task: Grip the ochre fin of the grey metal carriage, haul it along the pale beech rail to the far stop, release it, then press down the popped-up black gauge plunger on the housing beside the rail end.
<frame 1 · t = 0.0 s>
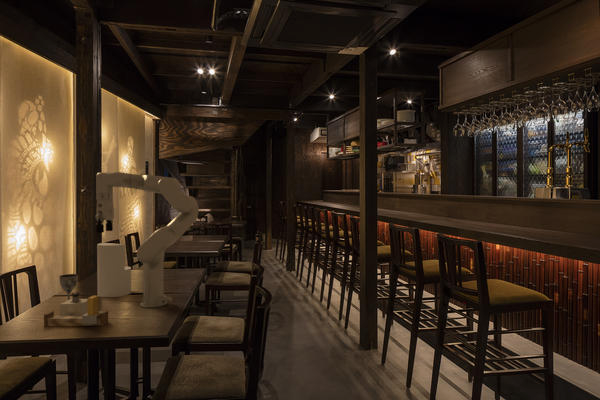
hand: (104, 231, 205), 37 cm above the table, tool pointing down, fingers open, 9 cm apart
rail: (76, 324, 174), on the table
housing: (76, 316, 185), on the table
wine glass: (68, 305, 205), on the table
cylinder: (114, 293, 230), on the table
carriage: (93, 309, 174), point 6 cm above the table, slide at -7.0 cm
plunger: (75, 300, 185), point 7 cm above the table, slide at 0.0 cm
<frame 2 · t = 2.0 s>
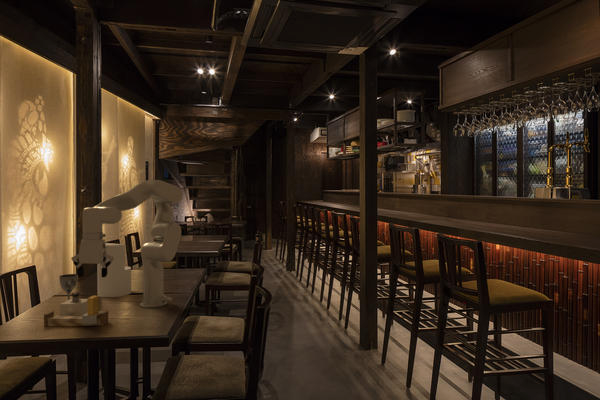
hand: (92, 276, 174), 20 cm above the table, tool pointing down, fingers open, 9 cm apart
nothing on the table moved.
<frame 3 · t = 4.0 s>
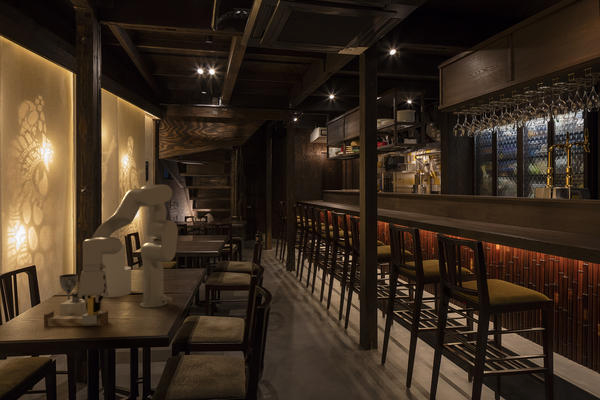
hand: (93, 310, 174), 6 cm above the table, tool pointing down, fingers closed on carriage, 2 cm apart
carriage: (93, 309, 174), point 6 cm above the table, slide at -7.0 cm, touching gripper
everything else where it was.
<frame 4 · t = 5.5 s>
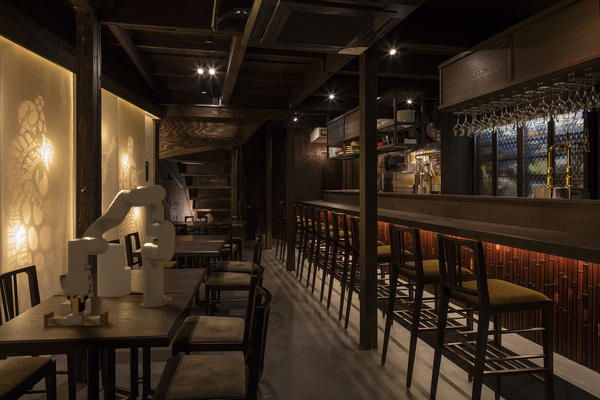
hand: (78, 311, 174), 6 cm above the table, tool pointing down, fingers closed on carriage, 2 cm apart
carriage: (78, 309, 174), point 6 cm above the table, slide at -0.8 cm, touching gripper
everything else where it was.
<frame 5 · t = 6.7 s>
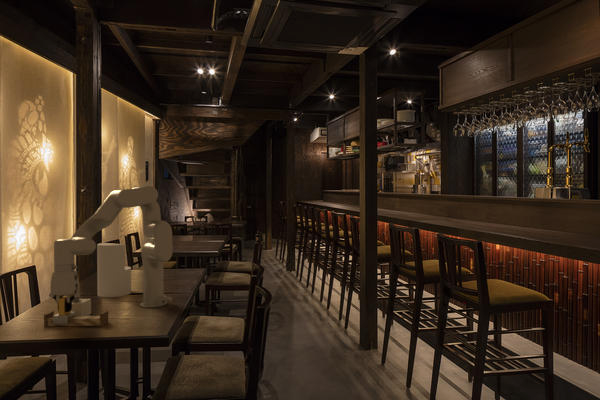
hand: (64, 311, 174), 6 cm above the table, tool pointing down, fingers closed on carriage, 2 cm apart
carriage: (64, 309, 174), point 6 cm above the table, slide at 5.0 cm, touching gripper
everything else where it was.
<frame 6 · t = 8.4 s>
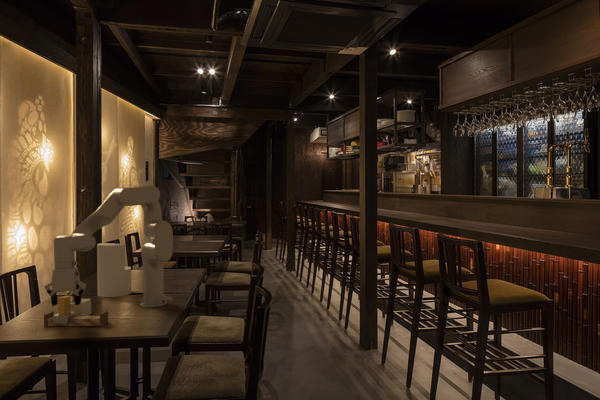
hand: (66, 304, 175), 8 cm above the table, tool pointing down, fingers open, 9 cm apart
carriage: (64, 309, 174), point 6 cm above the table, slide at 5.0 cm
everything else where it was.
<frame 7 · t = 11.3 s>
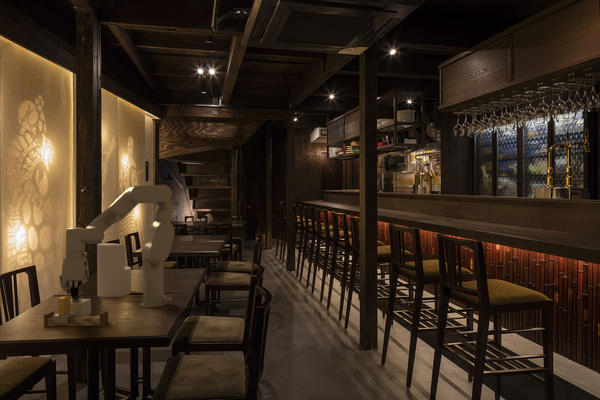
hand: (74, 295, 185), 10 cm above the table, tool pointing down, fingers closed
plunger: (75, 303, 185), point 6 cm above the table, slide at -1.2 cm, touching gripper
everything else where it was.
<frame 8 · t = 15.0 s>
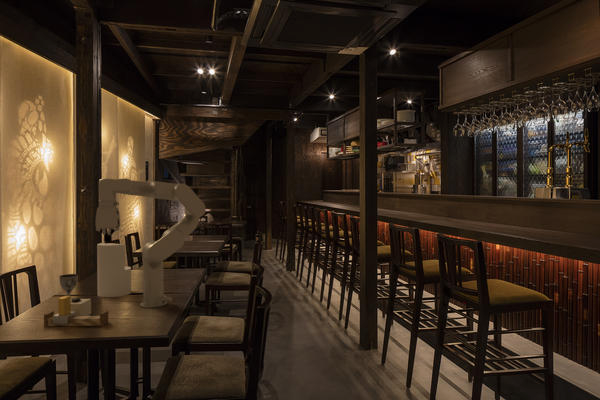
hand: (107, 243, 195), 32 cm above the table, tool pointing down, fingers closed
plunger: (75, 306, 185), point 5 cm above the table, slide at -2.6 cm
everything else where it was.
at the end: carriage slide at 5.0 cm; plunger slide at -2.6 cm; the gripper is holding nothing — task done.
